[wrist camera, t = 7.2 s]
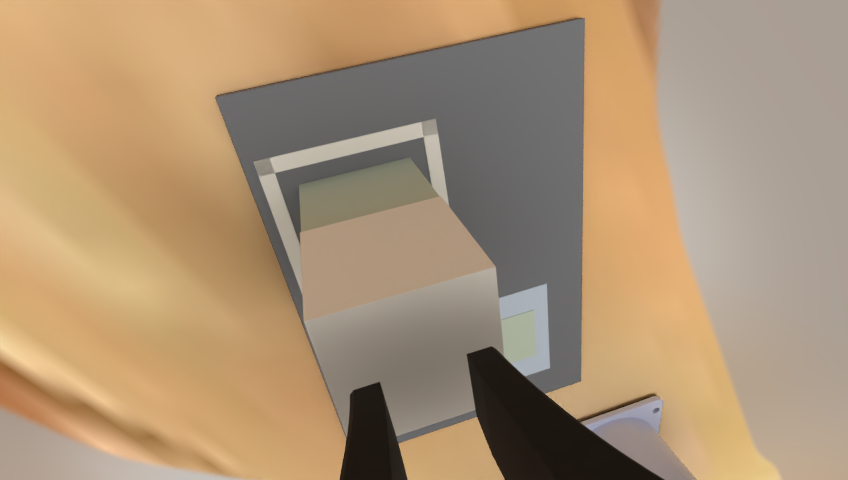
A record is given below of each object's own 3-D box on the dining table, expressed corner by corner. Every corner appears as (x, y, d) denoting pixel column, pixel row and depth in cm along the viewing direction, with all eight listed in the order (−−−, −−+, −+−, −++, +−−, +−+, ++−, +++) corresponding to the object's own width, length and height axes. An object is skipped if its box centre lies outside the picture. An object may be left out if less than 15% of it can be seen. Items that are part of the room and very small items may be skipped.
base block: (427, 251, 21) (459, 308, 17) (329, 278, 20) (338, 345, 16) (409, 157, 18) (441, 198, 15) (298, 184, 18) (301, 235, 14)
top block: (457, 307, 17) (508, 399, 13) (337, 342, 16) (351, 451, 12) (441, 196, 14) (495, 266, 11) (299, 232, 14) (303, 322, 10)
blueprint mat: (577, 376, 28) (581, 382, 27) (353, 452, 26) (354, 459, 25) (579, 17, 18) (585, 18, 18) (217, 95, 16) (215, 97, 16)
